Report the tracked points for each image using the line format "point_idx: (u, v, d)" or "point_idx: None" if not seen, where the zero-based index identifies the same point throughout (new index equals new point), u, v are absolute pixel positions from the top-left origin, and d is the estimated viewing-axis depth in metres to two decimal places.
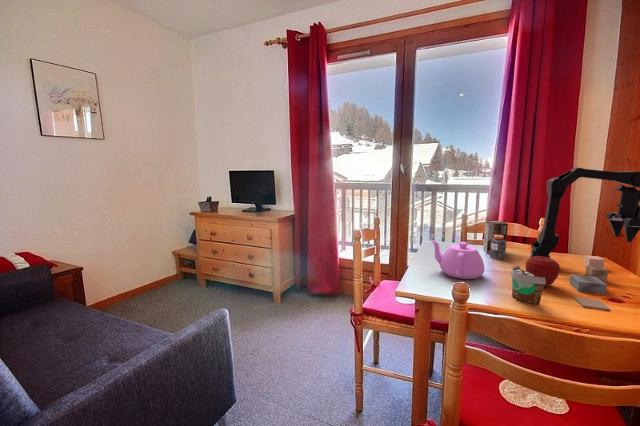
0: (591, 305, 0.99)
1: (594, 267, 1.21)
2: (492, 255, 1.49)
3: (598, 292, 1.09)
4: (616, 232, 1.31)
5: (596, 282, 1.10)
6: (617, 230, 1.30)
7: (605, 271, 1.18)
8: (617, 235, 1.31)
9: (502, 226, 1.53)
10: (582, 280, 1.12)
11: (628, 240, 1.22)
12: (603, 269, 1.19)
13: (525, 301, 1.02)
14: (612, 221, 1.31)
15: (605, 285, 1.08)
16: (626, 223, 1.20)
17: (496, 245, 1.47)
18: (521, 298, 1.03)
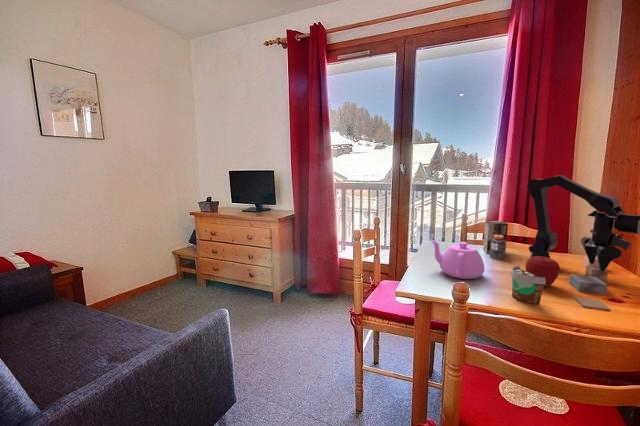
0: (591, 305, 0.99)
1: (594, 267, 1.21)
2: (492, 255, 1.49)
3: (598, 292, 1.09)
4: (591, 259, 1.25)
5: (596, 282, 1.10)
6: (591, 257, 1.25)
7: (605, 271, 1.18)
8: (591, 262, 1.25)
9: (502, 226, 1.53)
10: (582, 280, 1.12)
11: (601, 269, 1.17)
12: None
13: (525, 301, 1.02)
14: (586, 247, 1.25)
15: (605, 285, 1.08)
16: (598, 252, 1.14)
17: (496, 245, 1.47)
18: (521, 298, 1.03)
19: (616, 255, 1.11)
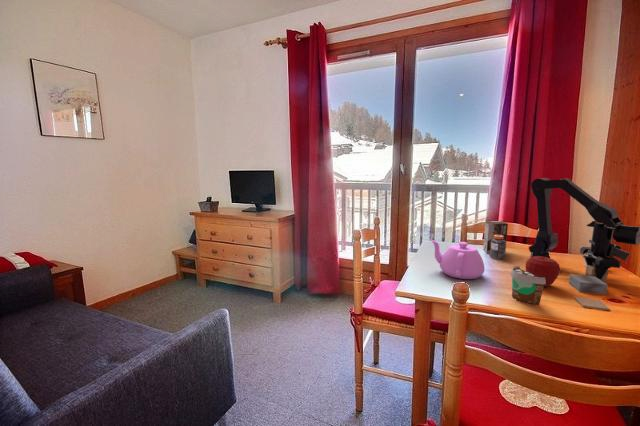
0: (591, 305, 0.99)
1: None
2: (492, 255, 1.49)
3: (599, 292, 1.09)
4: None
5: (596, 282, 1.10)
6: None
7: None
8: None
9: (502, 226, 1.53)
10: (583, 280, 1.12)
11: (598, 278, 1.19)
12: None
13: (525, 301, 1.02)
14: (587, 258, 1.24)
15: (606, 285, 1.08)
16: (597, 262, 1.15)
17: (496, 245, 1.47)
18: (521, 298, 1.03)
19: (615, 266, 1.11)
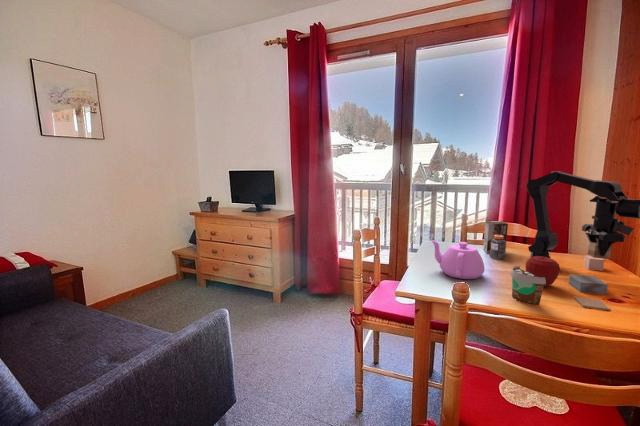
0: (591, 305, 0.99)
1: None
2: (492, 255, 1.49)
3: (599, 292, 1.09)
4: None
5: (597, 282, 1.10)
6: None
7: None
8: None
9: (502, 226, 1.53)
10: (583, 280, 1.12)
11: (601, 254, 1.16)
12: None
13: (525, 301, 1.02)
14: (590, 235, 1.22)
15: (606, 285, 1.08)
16: (601, 237, 1.12)
17: (496, 245, 1.47)
18: (521, 298, 1.03)
19: (619, 240, 1.09)
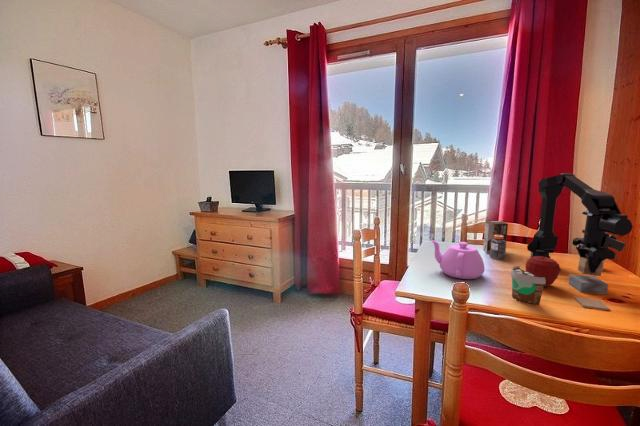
0: (591, 305, 0.99)
1: None
2: (492, 255, 1.49)
3: (599, 292, 1.09)
4: None
5: (597, 282, 1.10)
6: None
7: None
8: None
9: (502, 226, 1.53)
10: (583, 280, 1.11)
11: (591, 270, 1.09)
12: None
13: (525, 301, 1.02)
14: (580, 250, 1.15)
15: (606, 285, 1.08)
16: (590, 254, 1.05)
17: (496, 245, 1.47)
18: (521, 298, 1.03)
19: (609, 257, 1.02)
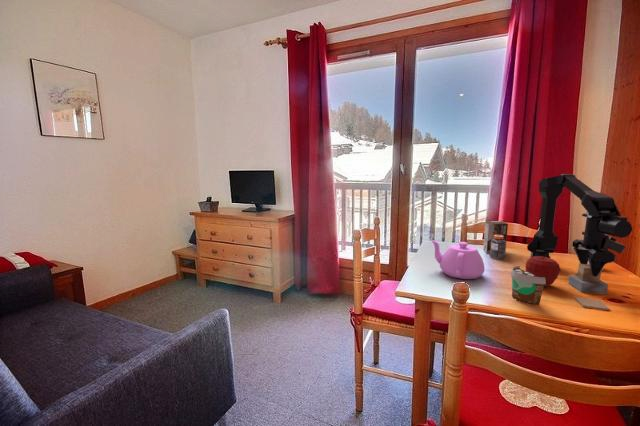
0: (591, 305, 0.99)
1: (587, 265, 1.13)
2: (492, 255, 1.49)
3: (600, 292, 1.09)
4: (583, 263, 1.16)
5: (597, 282, 1.10)
6: (583, 260, 1.16)
7: None
8: None
9: (502, 226, 1.53)
10: None
11: (593, 274, 1.08)
12: None
13: (525, 301, 1.02)
14: (578, 250, 1.17)
15: (606, 285, 1.08)
16: (590, 256, 1.05)
17: (496, 245, 1.47)
18: (521, 298, 1.03)
19: (609, 259, 1.02)
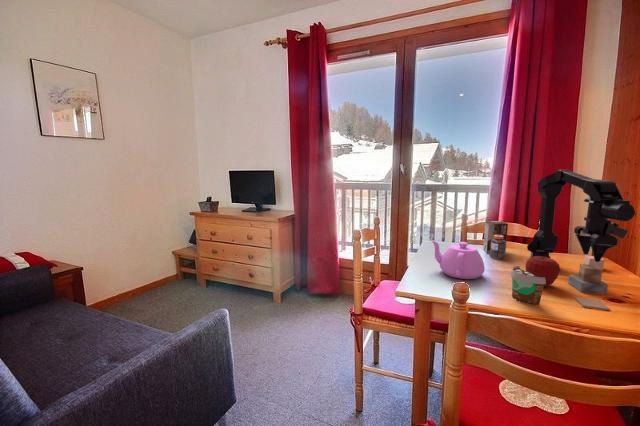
0: (591, 305, 0.99)
1: (588, 266, 1.12)
2: (492, 255, 1.49)
3: (599, 292, 1.09)
4: (585, 249, 1.15)
5: None
6: (585, 247, 1.15)
7: (599, 270, 1.09)
8: (586, 252, 1.15)
9: (502, 226, 1.53)
10: None
11: (596, 259, 1.07)
12: (597, 268, 1.10)
13: (525, 301, 1.02)
14: (580, 237, 1.16)
15: (606, 285, 1.08)
16: (592, 240, 1.04)
17: (496, 245, 1.47)
18: (521, 298, 1.03)
19: (612, 244, 1.01)
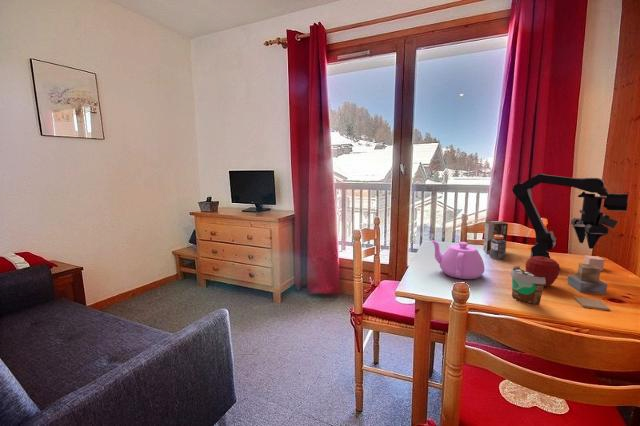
0: (591, 305, 0.99)
1: (586, 265, 1.13)
2: (492, 255, 1.49)
3: (599, 292, 1.09)
4: (580, 238, 1.31)
5: (596, 282, 1.10)
6: (581, 236, 1.31)
7: (597, 269, 1.09)
8: (581, 241, 1.31)
9: (502, 226, 1.53)
10: None
11: (589, 247, 1.22)
12: (595, 267, 1.10)
13: (525, 301, 1.02)
14: (576, 227, 1.31)
15: (605, 285, 1.08)
16: (587, 230, 1.20)
17: (496, 245, 1.47)
18: (521, 298, 1.03)
19: (603, 232, 1.17)
